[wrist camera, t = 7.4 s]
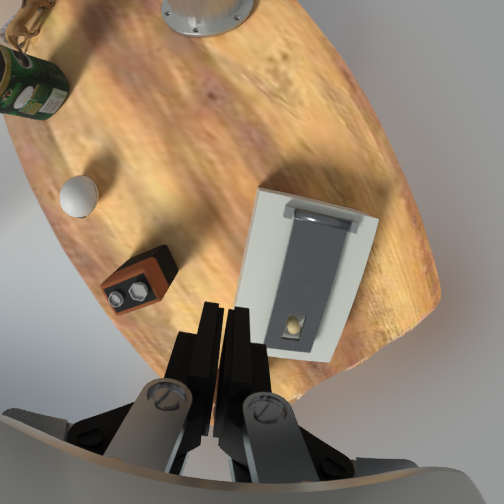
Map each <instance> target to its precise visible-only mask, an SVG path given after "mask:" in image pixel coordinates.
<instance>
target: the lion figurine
mask: <svg viewBox="0 0 504 504" xmlns="http://www.w3.org/2000/svg"><path fill="white" fill-rule="evenodd" d="M42 5H43V6H42ZM54 5H55V3H54V2H52V3H51V4H50V3H49V2H48V0H23V1H22V6H21V8H20V10H19V11H18V13H17V15H16V16H15V18H14V19H13V20H12V21H11V22H10V23H9V25H8V27H7V29H6V39H7V41H8V42H9V44H11V45H12V46H13V47H14V48H16V49H17V50H18V51H19V52H21V53H23V51H22V50H21V48H22V47H23V45H24V44H23V43H21V44H20V45H19V44H18V36H25V37H26V38H30V37H34V36H37V35H38V33H39V30H36V31H35V32H34V33H29V31H28V29H27V28H26V27H25V26H24V24H26V23H27V22H28V21H29V20H30V19H31V18H32V17H33V15H34V14H35V12H36V10H37V11H38V12H41V11H43V9H44V6H45V7H46V8H51V7H53V6H54ZM40 6H41V7H40Z"/></svg>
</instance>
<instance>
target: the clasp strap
mask: <svg viewBox="0 0 504 504" xmlns="http://www.w3.org/2000/svg"><path fill="white" fill-rule="evenodd" d="M349 226H350V221H349V220H346V219H342V218H338V217H334V216H330V215H326V214H321V213H317V212H313V211H308V210H304V209H299V208H296V209H295V212H294V219H293V223H292V227H291V232H290V236H289V240H288V245H287V249H286V253H285V257H284V262H283V266H282V270H281V274H280V278H279V282H278V286H277V290H276V294H275V298H274V302H273V306H272V310H271V314H270V318H269V322H268V326H267V330H266V334H265V337H264V341H263V344H266V347H267V348H272V349H280V350H288V351H296V352H306V353H310V352H311V350H312V347H313V344H314V341H315V338H316V335H317V332H318V329H319V326H320V323H321V320H322V317H323V314H324V311H325V308H326V305H327V301H328V298H329V295H330V292H331V288H332V285H333V282H334V278H335V275H336V271H337V268H338V264H339V261H340V257H341V253H342V250H343V246H344V242H345V238H346V234H347V230H348V229H349ZM289 313H290V314H297V315H304V316H305V319H304V322H303V325H302V328H301V331H300V335H299V338H298V339H296V338H288V337H282V335H283V332H284V328H285V325H286V321H287V318H288V314H289Z"/></svg>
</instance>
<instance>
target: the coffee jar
mask: <svg viewBox="0 0 504 504" xmlns="http://www.w3.org/2000/svg"><path fill="white" fill-rule="evenodd" d="M68 91H69V84H68V81H67V79H66V77H65V75H64V74H63V72H62V71H61V70H60V69H59V67H57V66H56V65H55V64H54V63H51V62H48V61H46V60H42V59H39V58H36V57H33V56H30V55H27V54H24V53H21V52H18V51H15V50H12V49H10V48H7V47H5V46H3V45H0V113H2V114H10V115H16V116H21V117H26V118H30V119H36V120H46V119H48V118H50V117H51V116H52V115H53V114H54V113H55V112H56V111H57V110H58V109H59V108H60V106H61V105H62V104H63V102H64V100H65V99H66V97H67V94H68Z"/></svg>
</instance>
